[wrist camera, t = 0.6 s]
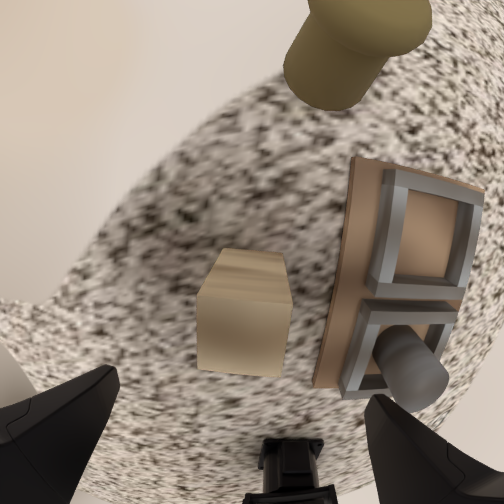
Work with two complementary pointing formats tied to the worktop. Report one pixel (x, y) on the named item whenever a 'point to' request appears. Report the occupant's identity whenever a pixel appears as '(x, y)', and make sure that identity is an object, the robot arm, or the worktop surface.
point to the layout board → (398, 283)
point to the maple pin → (244, 314)
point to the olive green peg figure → (351, 47)
